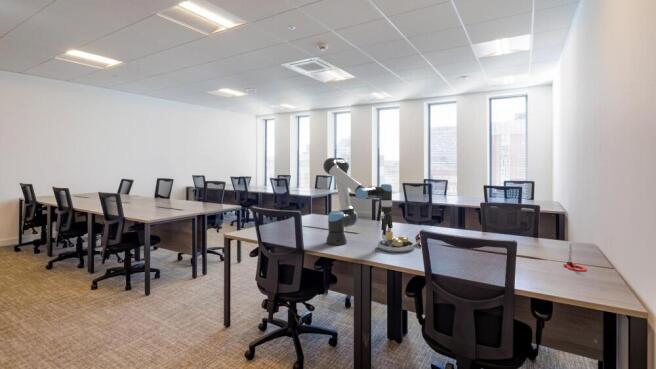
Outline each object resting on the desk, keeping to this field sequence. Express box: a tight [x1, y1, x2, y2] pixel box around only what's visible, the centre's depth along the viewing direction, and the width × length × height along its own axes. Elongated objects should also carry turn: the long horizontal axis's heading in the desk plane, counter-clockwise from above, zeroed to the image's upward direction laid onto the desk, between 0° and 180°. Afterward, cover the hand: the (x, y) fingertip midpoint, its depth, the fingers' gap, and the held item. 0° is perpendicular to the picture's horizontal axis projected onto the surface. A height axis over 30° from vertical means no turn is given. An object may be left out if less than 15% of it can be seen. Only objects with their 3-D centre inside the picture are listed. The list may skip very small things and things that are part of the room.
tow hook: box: [562, 243, 587, 272], centre depth 175 cm, size 8×13×9 cm
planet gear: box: [381, 230, 394, 240], centre depth 228 cm, size 7×7×5 cm
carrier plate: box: [377, 236, 415, 254], centre depth 225 cm, size 24×24×7 cm
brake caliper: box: [415, 229, 425, 247], centre depth 232 cm, size 11×11×12 cm
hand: (387, 238), depth 228 cm, fingers closed on planet gear, 7 cm apart
